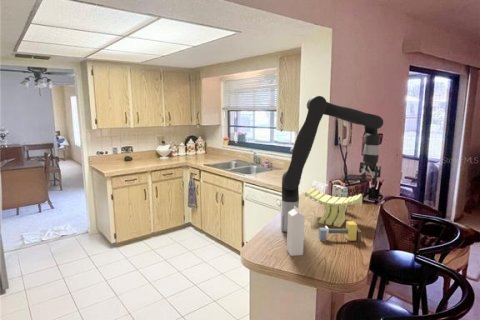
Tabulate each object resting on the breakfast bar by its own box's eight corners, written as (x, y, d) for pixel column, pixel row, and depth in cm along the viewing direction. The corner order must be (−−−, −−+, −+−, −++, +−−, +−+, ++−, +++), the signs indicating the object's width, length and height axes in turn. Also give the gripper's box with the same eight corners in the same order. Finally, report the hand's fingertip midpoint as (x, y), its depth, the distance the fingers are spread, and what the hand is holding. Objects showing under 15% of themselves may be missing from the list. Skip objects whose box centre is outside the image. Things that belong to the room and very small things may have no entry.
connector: (320, 240, 154) (320, 230, 153) (318, 237, 158) (319, 227, 157) (326, 240, 154) (326, 230, 153) (324, 237, 158) (324, 227, 157)
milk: (298, 249, 144) (300, 205, 141) (303, 255, 139) (305, 209, 135) (286, 250, 143) (287, 205, 140) (290, 256, 138) (292, 209, 134)
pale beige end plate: (326, 236, 154) (326, 228, 153) (324, 233, 158) (324, 225, 157) (328, 236, 154) (328, 228, 153) (326, 233, 158) (326, 225, 157)
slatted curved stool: (360, 221, 182) (362, 192, 180) (355, 229, 169) (357, 199, 166) (312, 212, 198) (313, 186, 195) (304, 219, 185) (305, 191, 182)
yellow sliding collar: (348, 240, 153) (349, 224, 152) (345, 236, 158) (346, 221, 157) (356, 240, 153) (357, 224, 152) (352, 236, 158) (353, 221, 157)
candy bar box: (347, 212, 199) (348, 188, 197) (340, 212, 198) (342, 188, 195) (337, 207, 210) (338, 184, 207) (330, 207, 208) (332, 184, 206)
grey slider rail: (321, 233, 155) (321, 229, 155) (320, 231, 157) (320, 228, 156) (360, 233, 154) (360, 230, 154) (359, 232, 156) (359, 229, 156)
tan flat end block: (357, 242, 153) (358, 231, 152) (353, 237, 159) (354, 227, 158) (360, 242, 153) (361, 231, 152) (356, 237, 158) (357, 227, 158)
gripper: (356, 151, 166) (354, 180, 168) (374, 155, 152) (371, 186, 155) (368, 151, 168) (365, 179, 170) (386, 155, 154) (383, 185, 157)
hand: (368, 183), depth 163 cm, fingers open, 8 cm apart
